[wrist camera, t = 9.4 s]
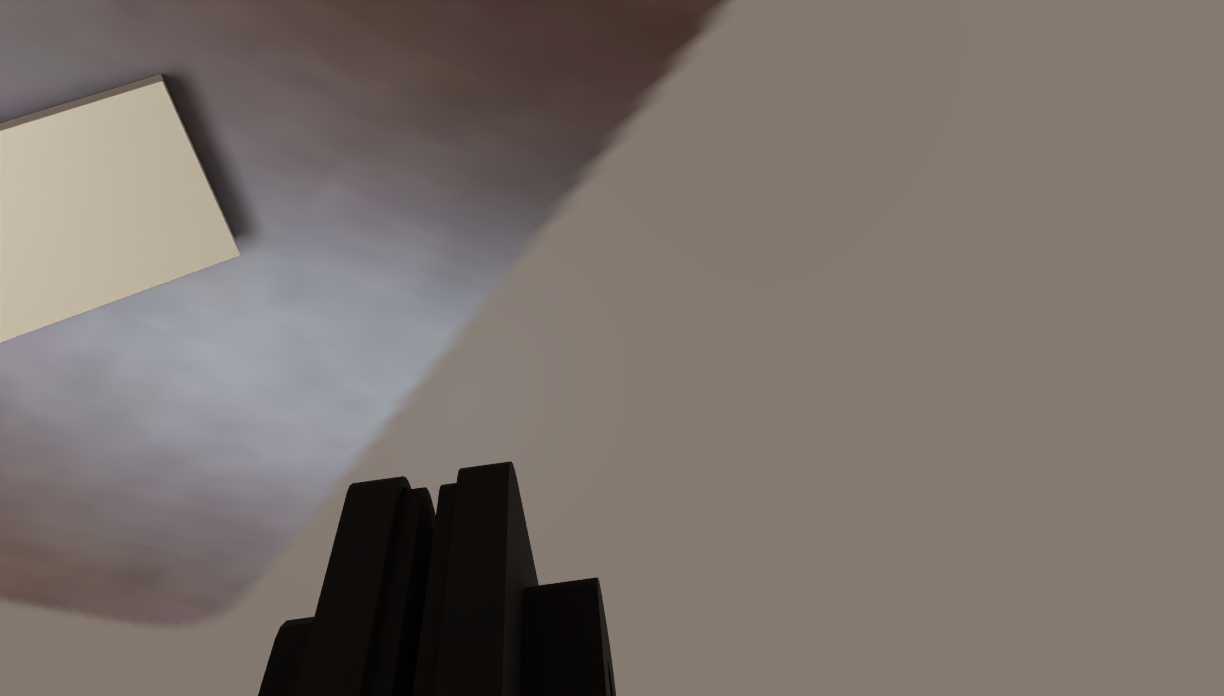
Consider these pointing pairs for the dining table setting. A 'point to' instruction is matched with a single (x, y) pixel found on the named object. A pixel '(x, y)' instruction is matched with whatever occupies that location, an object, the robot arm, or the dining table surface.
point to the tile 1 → (101, 205)
